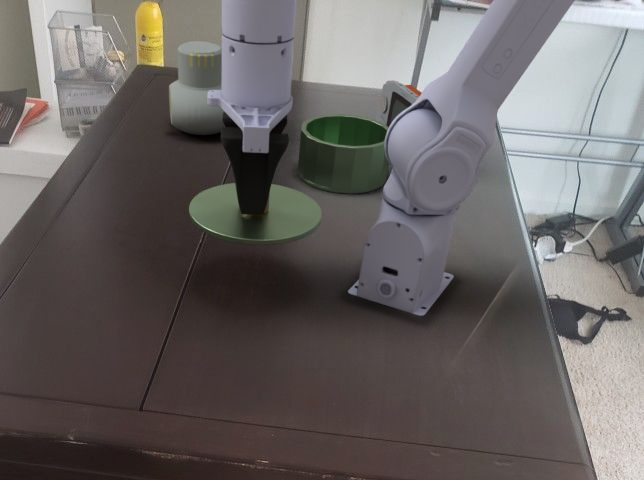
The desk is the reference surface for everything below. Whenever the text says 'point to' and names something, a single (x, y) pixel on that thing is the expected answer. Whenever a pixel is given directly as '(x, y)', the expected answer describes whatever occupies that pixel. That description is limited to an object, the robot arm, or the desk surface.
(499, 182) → the desk surface
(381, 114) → the handheld gaming console
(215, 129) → the air freshener
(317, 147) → the tin
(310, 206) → the lid
